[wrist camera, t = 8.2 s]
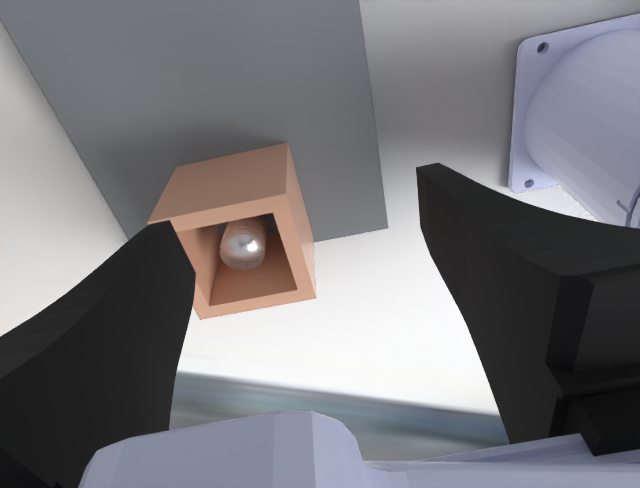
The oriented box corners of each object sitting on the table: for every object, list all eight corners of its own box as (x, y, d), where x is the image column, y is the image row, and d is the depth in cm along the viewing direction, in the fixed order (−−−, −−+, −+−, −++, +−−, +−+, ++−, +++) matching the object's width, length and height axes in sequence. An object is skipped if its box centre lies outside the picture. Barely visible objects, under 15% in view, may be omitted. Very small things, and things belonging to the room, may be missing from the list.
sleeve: (287, 142, 20) (285, 193, 16) (312, 236, 23) (316, 298, 19) (176, 166, 21) (147, 222, 17) (216, 255, 24) (200, 319, 20)
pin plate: (310, -330, 13) (318, -472, 8) (383, 213, 25) (403, 274, 20) (-101, -204, 14) (-286, -271, 10) (156, 258, 26) (126, 325, 21)
